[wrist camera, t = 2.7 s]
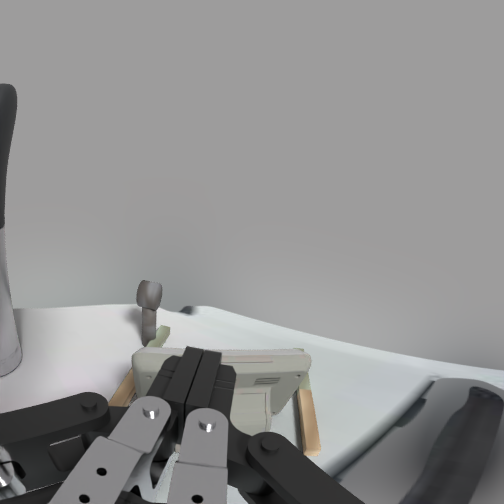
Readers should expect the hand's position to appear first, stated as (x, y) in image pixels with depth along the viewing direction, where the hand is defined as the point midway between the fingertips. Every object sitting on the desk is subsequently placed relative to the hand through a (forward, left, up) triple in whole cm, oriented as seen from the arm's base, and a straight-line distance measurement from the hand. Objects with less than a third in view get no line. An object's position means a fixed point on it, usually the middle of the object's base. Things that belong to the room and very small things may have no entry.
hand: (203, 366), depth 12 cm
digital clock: (0, +12, -17) cm, 21 cm away
